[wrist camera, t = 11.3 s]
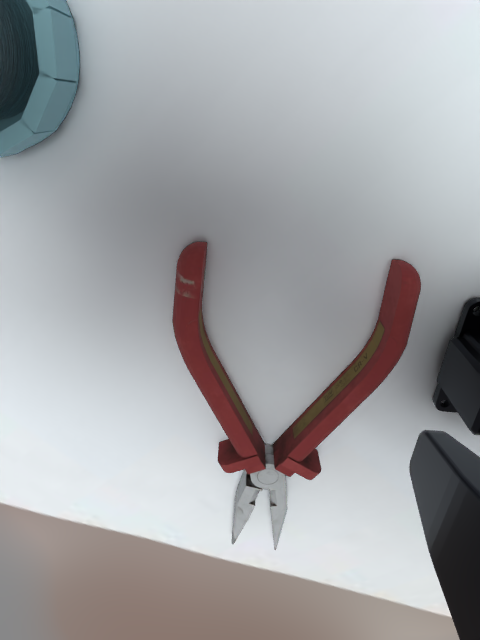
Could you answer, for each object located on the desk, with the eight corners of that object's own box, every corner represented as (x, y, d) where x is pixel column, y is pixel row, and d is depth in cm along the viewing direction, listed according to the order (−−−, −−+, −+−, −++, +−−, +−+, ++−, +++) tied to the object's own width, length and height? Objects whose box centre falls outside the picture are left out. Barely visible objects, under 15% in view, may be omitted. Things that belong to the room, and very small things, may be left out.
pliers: (170, 521, 29) (163, 557, 27) (179, 232, 20) (169, 248, 18) (336, 534, 30) (344, 571, 27) (417, 255, 21) (439, 274, 18)
